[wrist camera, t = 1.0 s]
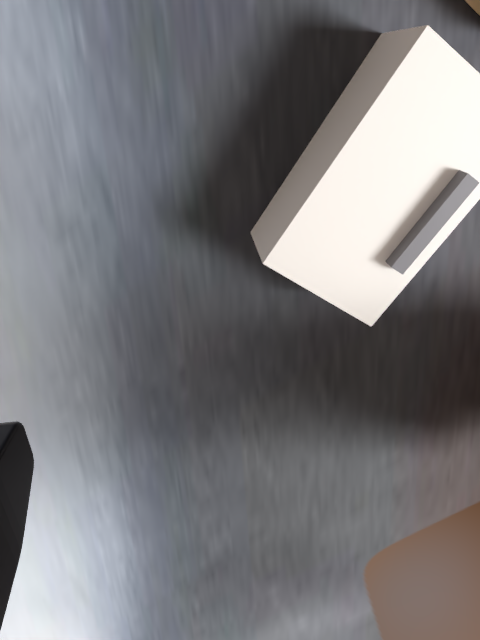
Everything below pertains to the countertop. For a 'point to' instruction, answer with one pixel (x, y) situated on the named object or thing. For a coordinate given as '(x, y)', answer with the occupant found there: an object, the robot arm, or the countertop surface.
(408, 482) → the countertop surface
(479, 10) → the wooden board
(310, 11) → the countertop surface
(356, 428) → the countertop surface
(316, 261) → the door
